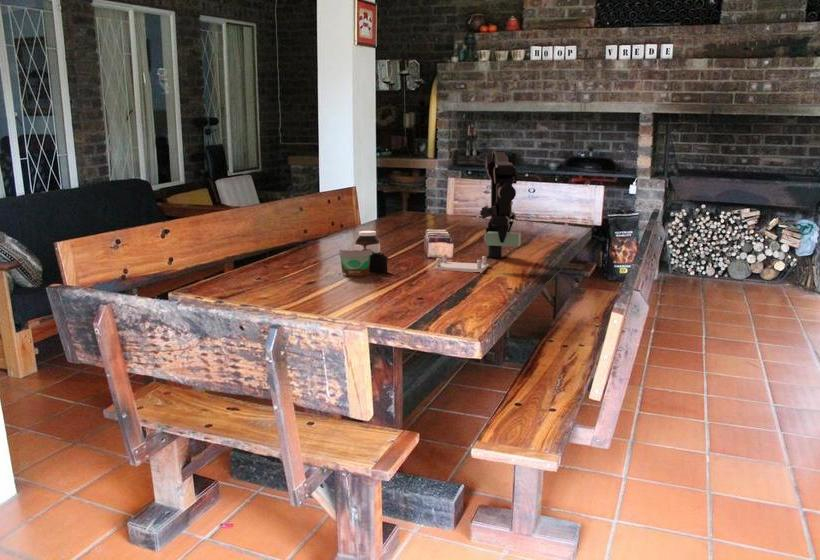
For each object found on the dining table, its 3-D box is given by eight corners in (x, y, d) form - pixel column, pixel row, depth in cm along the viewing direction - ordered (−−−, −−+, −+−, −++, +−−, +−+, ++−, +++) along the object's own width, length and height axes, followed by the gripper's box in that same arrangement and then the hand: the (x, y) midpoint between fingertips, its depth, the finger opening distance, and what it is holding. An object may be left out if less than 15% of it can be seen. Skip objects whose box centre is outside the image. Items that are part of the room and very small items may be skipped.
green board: (488, 243, 274) (488, 231, 273) (520, 244, 270) (520, 232, 269) (485, 245, 269) (485, 233, 268) (518, 246, 265) (518, 234, 265)
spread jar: (381, 258, 302) (381, 230, 300) (377, 263, 291) (377, 234, 289) (352, 258, 304) (352, 230, 301) (347, 262, 292) (347, 233, 290)
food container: (340, 279, 257) (339, 251, 255) (338, 276, 263) (337, 249, 261) (375, 278, 260) (374, 250, 258) (372, 275, 266) (372, 247, 264)
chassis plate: (442, 265, 284) (442, 254, 284) (488, 267, 279) (488, 256, 278) (434, 270, 273) (434, 259, 272) (481, 273, 268) (481, 261, 267)
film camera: (393, 271, 274) (393, 247, 273) (385, 275, 265) (385, 251, 264) (355, 269, 279) (355, 245, 277) (346, 273, 270) (345, 249, 268)
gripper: (487, 196, 277) (486, 237, 280) (476, 200, 260) (476, 244, 263) (516, 197, 274) (515, 238, 277) (507, 201, 257) (507, 245, 260)
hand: (503, 241), depth 269 cm, fingers closed on green board, 5 cm apart
